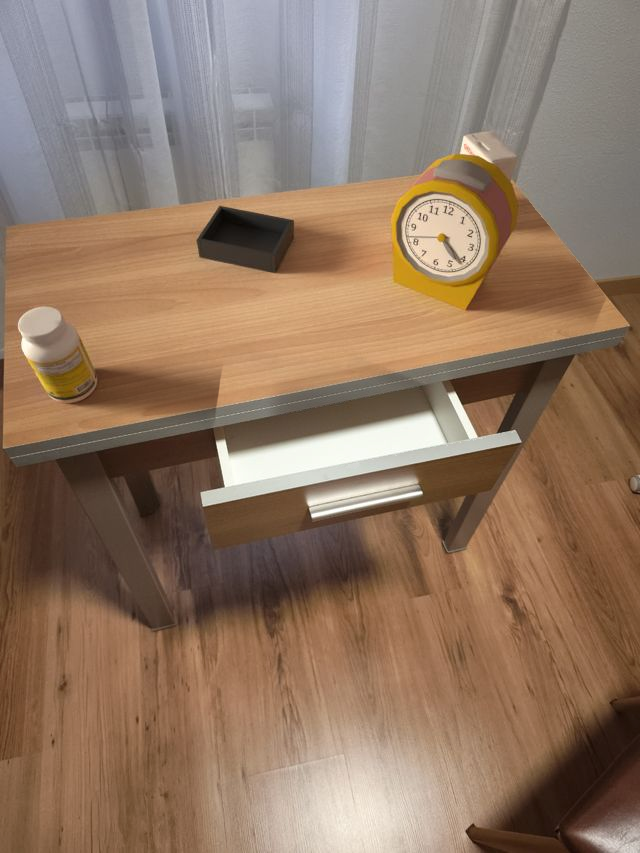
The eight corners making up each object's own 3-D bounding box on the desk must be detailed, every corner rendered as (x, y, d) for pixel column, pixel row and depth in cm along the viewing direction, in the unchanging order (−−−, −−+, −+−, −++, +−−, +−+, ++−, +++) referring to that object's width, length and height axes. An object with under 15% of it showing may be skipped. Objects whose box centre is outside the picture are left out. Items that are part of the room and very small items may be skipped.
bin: (199, 257, 86) (196, 239, 83) (221, 222, 91) (219, 205, 89) (275, 273, 84) (275, 256, 82) (294, 237, 89) (294, 219, 87)
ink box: (498, 226, 93) (521, 156, 83) (471, 232, 92) (491, 162, 82) (472, 197, 97) (491, 128, 88) (446, 203, 96) (462, 133, 87)
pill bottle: (55, 366, 72) (20, 300, 63) (103, 367, 72) (76, 301, 64) (40, 404, 69) (1, 340, 60) (92, 405, 69) (60, 341, 60)
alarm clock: (380, 280, 84) (398, 160, 69) (404, 251, 88) (425, 132, 73) (474, 317, 80) (515, 199, 65) (494, 285, 84) (536, 166, 69)
